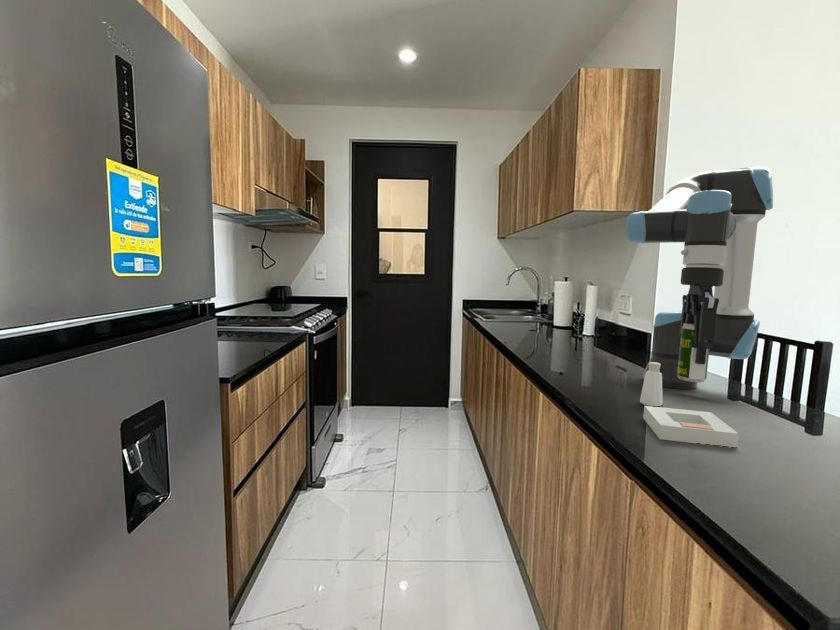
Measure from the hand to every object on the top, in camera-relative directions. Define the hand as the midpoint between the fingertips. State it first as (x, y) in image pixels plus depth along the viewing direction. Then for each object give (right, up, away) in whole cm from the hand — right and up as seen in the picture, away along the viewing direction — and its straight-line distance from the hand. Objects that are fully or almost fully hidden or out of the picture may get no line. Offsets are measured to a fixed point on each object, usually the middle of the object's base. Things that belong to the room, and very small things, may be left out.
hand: (691, 375), depth 95 cm
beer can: (0, -1, 0) cm, 1 cm away
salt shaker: (+3, -11, +22) cm, 25 cm away
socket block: (0, -12, +1) cm, 12 cm away
